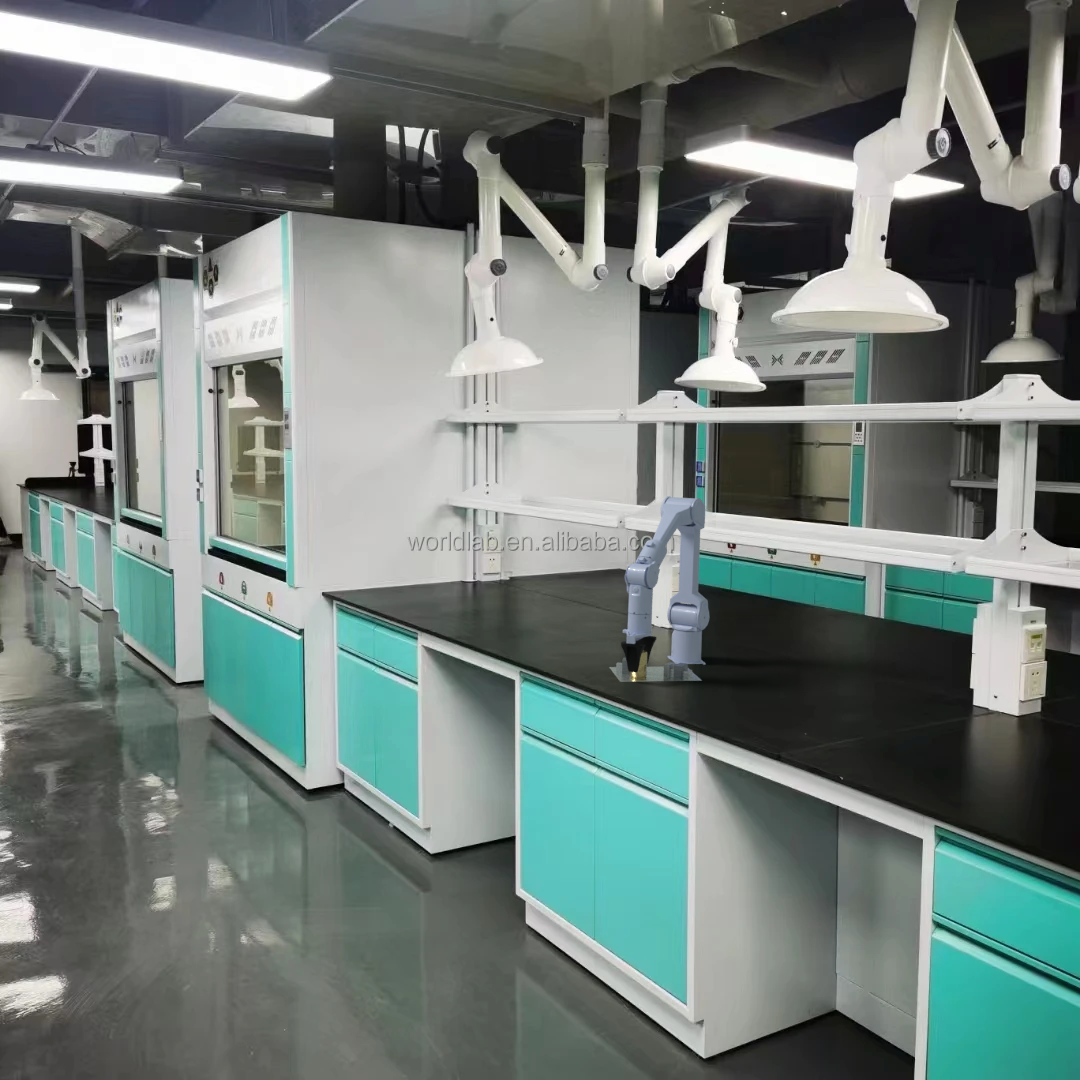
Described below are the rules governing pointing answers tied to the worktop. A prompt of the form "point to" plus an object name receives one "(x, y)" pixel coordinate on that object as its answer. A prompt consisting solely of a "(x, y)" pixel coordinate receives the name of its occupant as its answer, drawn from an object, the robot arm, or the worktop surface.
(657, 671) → the shaft rig
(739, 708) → the worktop surface
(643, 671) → the cylinder
